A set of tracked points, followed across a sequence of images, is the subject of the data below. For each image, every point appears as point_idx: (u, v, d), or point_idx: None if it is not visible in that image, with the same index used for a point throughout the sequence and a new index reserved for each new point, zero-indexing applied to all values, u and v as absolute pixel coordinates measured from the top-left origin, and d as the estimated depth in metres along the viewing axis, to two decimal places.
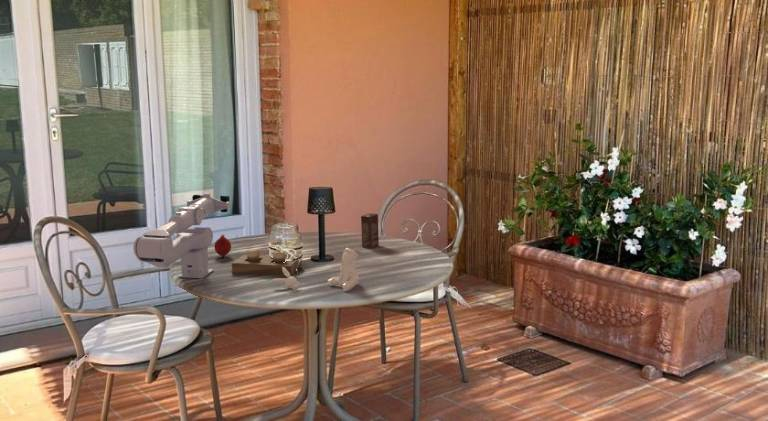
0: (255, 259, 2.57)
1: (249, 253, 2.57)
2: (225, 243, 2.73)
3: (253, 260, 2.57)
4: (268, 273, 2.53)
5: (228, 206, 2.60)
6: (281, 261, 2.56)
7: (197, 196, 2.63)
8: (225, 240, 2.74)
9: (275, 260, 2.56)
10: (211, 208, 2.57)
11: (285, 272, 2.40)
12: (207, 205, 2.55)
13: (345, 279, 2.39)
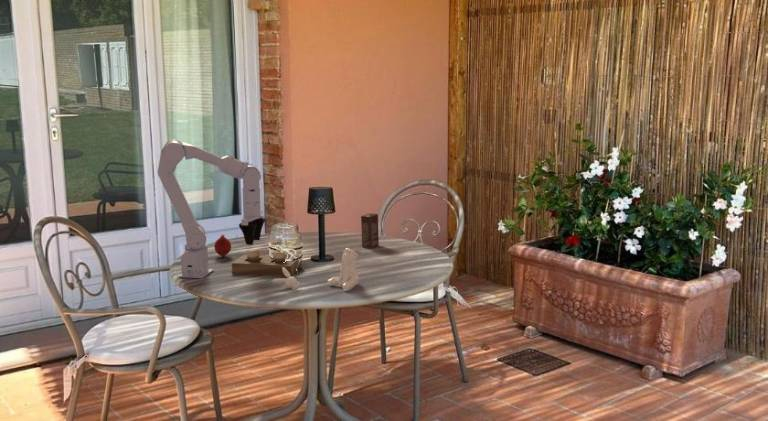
0: (255, 259, 2.57)
1: (249, 253, 2.57)
2: (225, 243, 2.73)
3: (253, 260, 2.57)
4: (268, 273, 2.53)
5: (243, 221, 2.49)
6: (281, 261, 2.56)
7: (263, 218, 2.60)
8: (225, 240, 2.74)
9: (275, 260, 2.56)
10: (248, 207, 2.53)
11: (285, 272, 2.40)
12: (256, 200, 2.53)
13: (345, 279, 2.39)
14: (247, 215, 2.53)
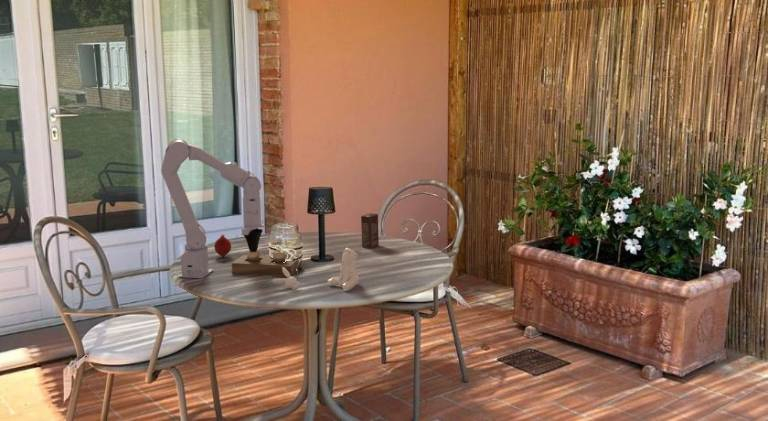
0: (255, 260, 2.57)
1: (249, 254, 2.57)
2: (225, 243, 2.73)
3: (253, 261, 2.57)
4: (268, 273, 2.53)
5: (243, 231, 2.50)
6: (281, 261, 2.56)
7: None
8: (225, 240, 2.74)
9: (275, 260, 2.56)
10: (248, 217, 2.53)
11: (285, 272, 2.40)
12: (256, 210, 2.54)
13: (345, 279, 2.39)
14: (247, 224, 2.54)
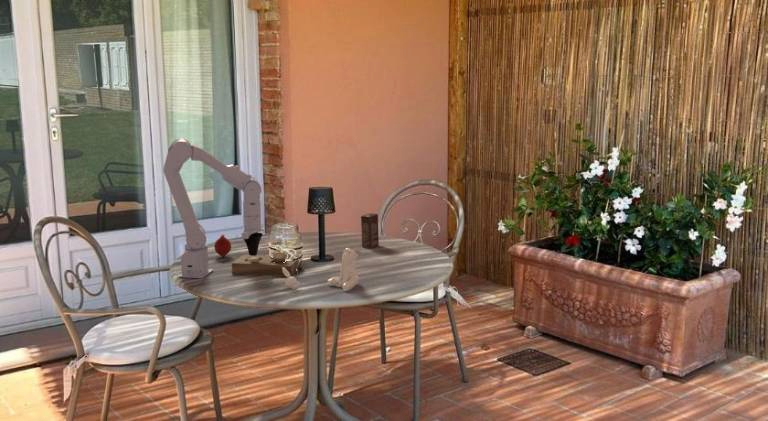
0: None
1: None
2: (225, 243, 2.73)
3: None
4: (268, 273, 2.53)
5: (243, 235, 2.50)
6: (281, 261, 2.56)
7: None
8: (225, 240, 2.74)
9: (275, 260, 2.56)
10: (248, 220, 2.54)
11: (285, 272, 2.40)
12: (257, 214, 2.54)
13: (345, 279, 2.39)
14: (247, 228, 2.54)
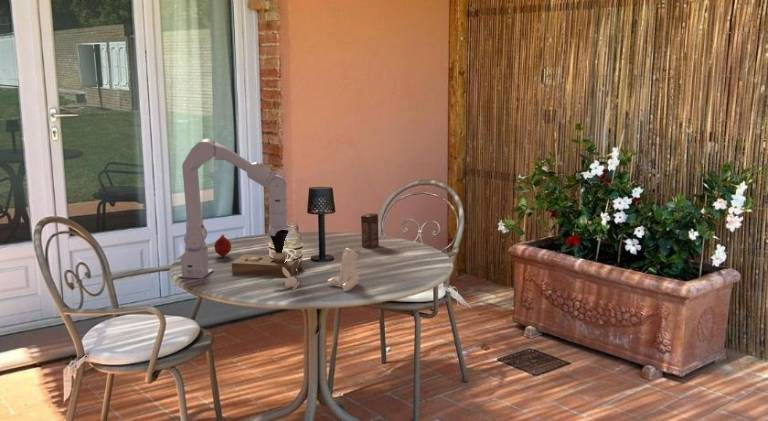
0: None
1: None
2: (225, 243, 2.73)
3: None
4: (268, 273, 2.53)
5: (270, 232, 2.48)
6: (281, 261, 2.56)
7: None
8: (225, 240, 2.74)
9: (275, 260, 2.56)
10: (275, 217, 2.52)
11: (285, 272, 2.40)
12: (282, 211, 2.52)
13: (345, 279, 2.39)
14: (274, 225, 2.52)
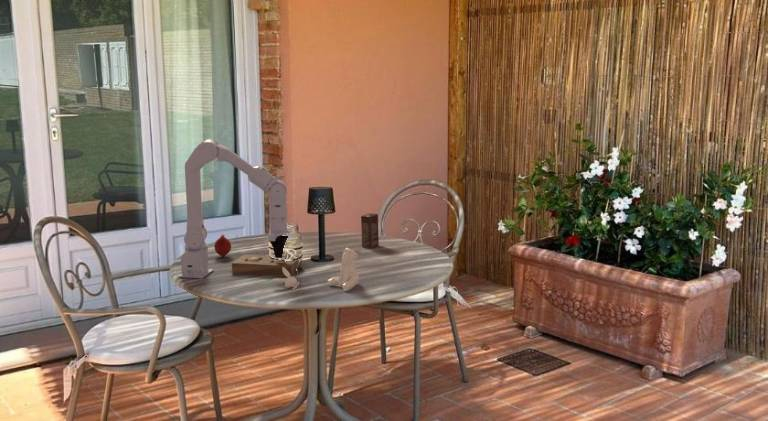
0: None
1: None
2: (225, 243, 2.73)
3: None
4: (268, 273, 2.53)
5: (270, 237, 2.49)
6: None
7: None
8: (225, 240, 2.74)
9: None
10: (275, 223, 2.52)
11: (285, 272, 2.40)
12: (282, 216, 2.52)
13: (345, 279, 2.39)
14: (274, 230, 2.53)
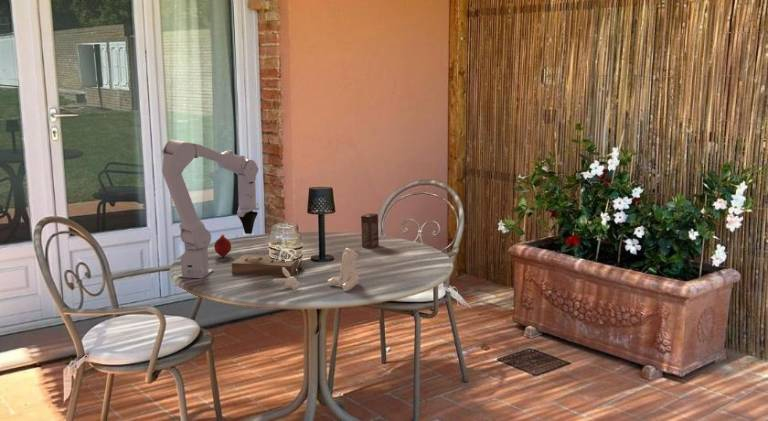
0: None
1: None
2: (225, 243, 2.73)
3: None
4: (268, 273, 2.53)
5: (239, 213, 2.58)
6: None
7: None
8: (225, 240, 2.74)
9: None
10: (243, 199, 2.61)
11: (285, 272, 2.40)
12: (254, 192, 2.63)
13: (345, 279, 2.39)
14: (243, 207, 2.62)
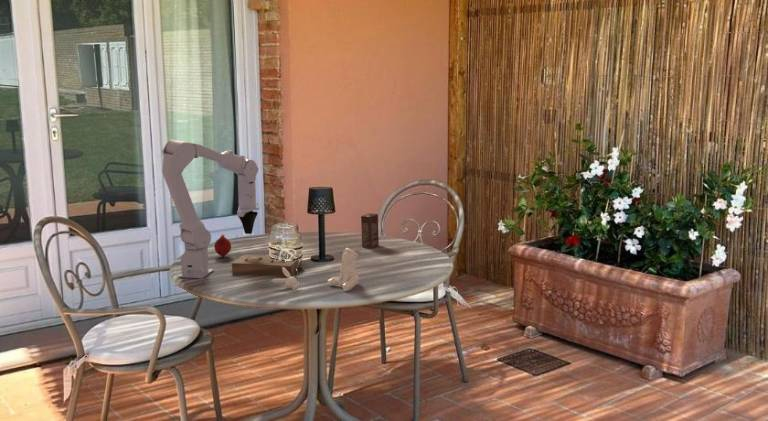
0: None
1: None
2: (225, 243, 2.73)
3: None
4: (268, 273, 2.53)
5: (239, 213, 2.58)
6: None
7: None
8: (225, 240, 2.74)
9: None
10: (243, 199, 2.61)
11: (285, 272, 2.40)
12: (254, 192, 2.63)
13: (345, 279, 2.39)
14: (243, 207, 2.62)
